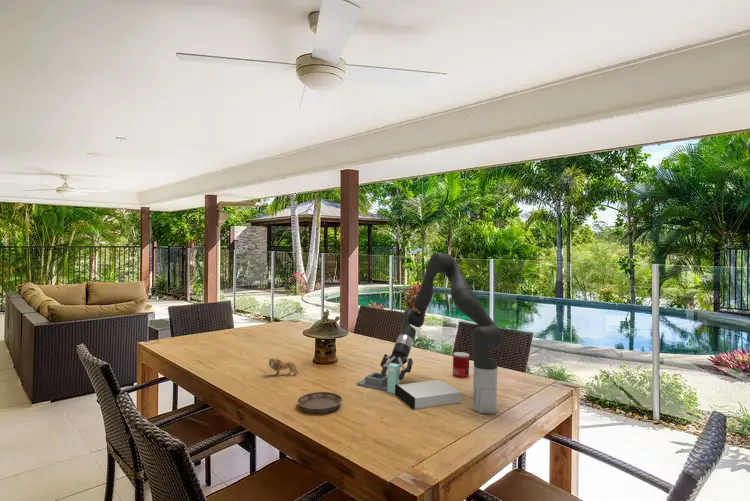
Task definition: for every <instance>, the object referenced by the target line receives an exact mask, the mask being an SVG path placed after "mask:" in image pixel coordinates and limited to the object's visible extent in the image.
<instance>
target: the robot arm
mask: <svg viewBox="0 0 750 501" xmlns="http://www.w3.org/2000/svg"><path fill="white" fill-rule="evenodd" d="M457 263H458V262H456V260H455V258H454V257H453V256H452V255H451V254H447V253H444V252H435V253H433V254H432V255H431V256H430V258H429V260H428V263H427V266H426V269H425V272H424V276H423V279H422V283H421V286H420V288H419V290H418V292H417V294H416V296H415V298H414V301H413V303H412V304H413V305H412V306H413V307H414V309H417V311H416V310H414V309H412V308H407V309H405V310H404V311H403V315H402V325H401V329H400V332H399V335H398V337H397V339H396V342H395V343H394V346H393V349H392V353H391V354H390V355H388V354H387V353H385V354H384V355H383V357H382V359H381V361H380V363H379V365H380V366H381V368H382V369H381V372H380V373H381V374H382V377H385V374H387V373H388V365H389V364H391V363H394V364H400V369H401V370H400V375H399V380H400V381H402V380H403V379H404V378H405V375H406V373H411V372H412V371H411V370H412V366H413V363H414V361H413V359H412V357H409V354H410V352H411V350H412V346H413V343H414V340H415V336H416V333H417V330H416V328H421V327H422V326H423V325H424V323H425V317H426V312H427V309H428V307H429V305H430V303H431V301H432V299H433V296H434V281H435V278H436V276H437V275H438V274H442V275H445V276H446V278H447V280H448V281H449V282H450V295H451V299H452V301H453V302H454V304H455V305H456V308H457V309H458V310H459V311H460V312H461V313H462V314H464V315H465V316H466V317H468V318H469V319H470V320H472V321H473V322H474V323H475V324H476V325H477V327H475V328H474V329H473V331H472V334H471V357H472V360H473V374H472V375H473V381H472V382H473V383H472V385H473V386H472V409H473V411H475V412H478V413H479V414H496V413H497V402H498V398H497V397H498V395H497V394H498V365H499V364H498V359H496V358H495V357H494V358H493V357H491V356H490V352H489V350H496V349H499V348H501V347H502V346H503V344H504V338H503V334H502V332H501V330H500V328H499V327H498V325H497V324H496V323H495V322H494V320H493V319H492V318H491V317H490V316H489V314H488V313H487V311H486V310H485V309H484V307H483V305H482V304H481V302H480V301H479V299H478V298H477V296H476V294H475V292H474V291H473V290H472V288H471V287H470V285H469V284H468V281H467V280H466V279H465V277H464V276H463V274H462V272H461V270H460V267H459V265H458V264H457ZM414 327H415V328H414ZM408 357H409V358H408ZM406 363H407V366H406V367H405V364H406Z"/></svg>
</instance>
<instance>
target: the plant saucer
mask: <svg viewBox="0 0 750 501" xmlns="http://www.w3.org/2000/svg"><path fill="white" fill-rule="evenodd" d="M342 401H343V398H342V396H341V395H339V394H338V393H335V392H329V391H318V392H317V391H315V392H310V393H306V394H303V395H301V396H300V397H299V398H298V399H297V404H298V406H299V407H300V408H301V409H302V410H303V411H305V412H307V413H309V414H327V413H331V412H333V411H335V410H336V409H338V407H339V406H340V405H341V404H342V403H343V402H342Z"/></svg>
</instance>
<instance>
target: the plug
mask: <svg viewBox="0 0 750 501" xmlns="http://www.w3.org/2000/svg"><path fill="white" fill-rule="evenodd" d="M400 373H401V367H400V364H394V363H390V364H389V365H388V369H387V374H388V385H387V391H386V392H387V393H389V394H393V395H395V384H397V385H400V381H401V380H399V375H400Z"/></svg>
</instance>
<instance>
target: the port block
mask: <svg viewBox="0 0 750 501" xmlns="http://www.w3.org/2000/svg"><path fill="white" fill-rule="evenodd" d="M387 385H388V373H386V374H385V377H382V374H381V372H376V371H374V372H372V373H369V374H368V375H365V377H364V378H363V379H361V380H359V381H358V382H356V386H359V387H363V388H369V389H373V390H377V391H378V390H379V391H384V392H387Z"/></svg>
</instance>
